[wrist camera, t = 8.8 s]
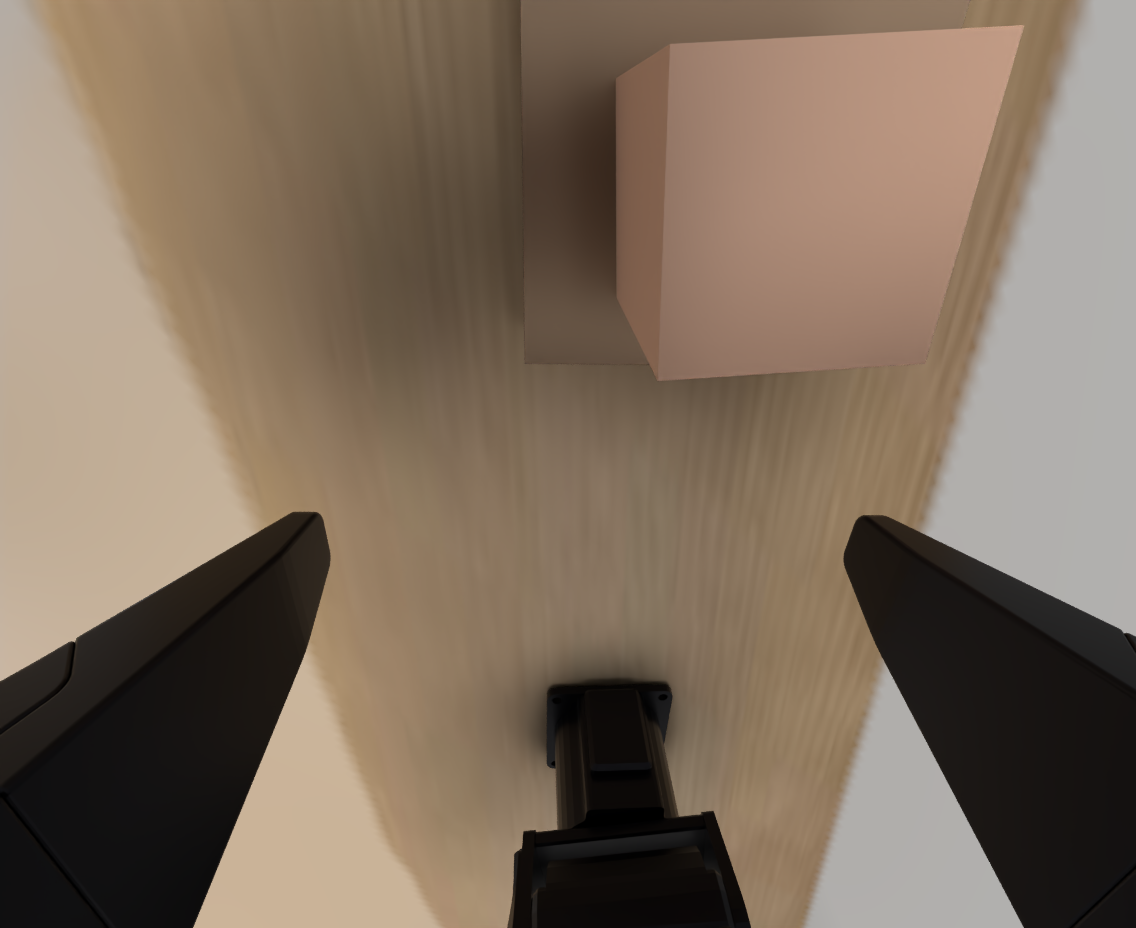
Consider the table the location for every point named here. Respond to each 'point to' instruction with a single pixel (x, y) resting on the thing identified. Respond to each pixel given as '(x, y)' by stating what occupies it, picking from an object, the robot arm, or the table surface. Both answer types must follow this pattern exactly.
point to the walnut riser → (588, 139)
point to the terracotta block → (799, 195)
